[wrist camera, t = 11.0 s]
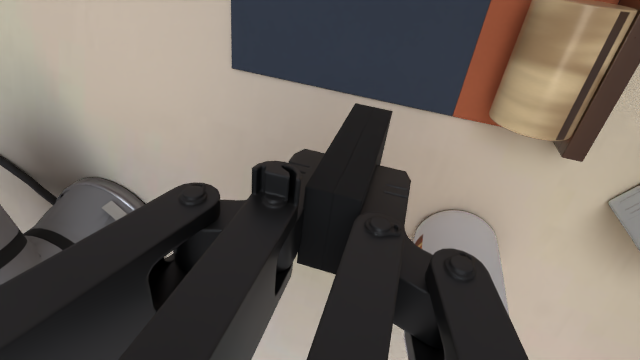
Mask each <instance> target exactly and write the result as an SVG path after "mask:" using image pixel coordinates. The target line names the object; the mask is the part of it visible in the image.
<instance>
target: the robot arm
mask: <svg viewBox="0 0 640 360" xmlns="http://www.w3.org/2000/svg"><path fill="white" fill-rule="evenodd" d="M391 115H392V111H389V110H384V109H380V108H375V107H370V106H365V105H360V104H356V103H355V105H354V107H353V108H352V110H351V112H350V113H349V115H348V117H347V118H346V120H345V122H344V123H343V125H342V127H341V128H340V130H339V131H338V133H337V135H336V136H335V138H334V140H333V141H332V143H331V145H330V146H329V148H328V150H327V151H326V153H325V154H324V153H320V152H316V151H312V150H308V149H304V150H302V151H300V152H298V153H295V154H294V155H293V157H292V158H291V159H290V161H289V163H286V162H280V161H266V162H263V163H259V164H257V165H256V166H254V167H253V168H252V194H251V196H250V197H249V198H248V199H247V200H240V201H235V200H220V194H219V192H218V190H217V189H216V188H214V187H213V186H212V185H208V184H205V183H188V184H183V185H181V186H178V187H176V188H174V189H172V190H170V191H168V192H167V193H165V194H163V195H161V196H159V197H158V198H156V199H154V200H152V201H150V202H149V203H147V204H144V203H143V202H142V201H141V200H139V199H138V198H137V197H136V196H135V195H133V194H132V193H131V192H129V191H128V190H127V189H125V188H123V187H122V186H120V185H118V184H116V183H114V182H111V181H108V180H105V179H101V178H94V177H90V178H84V179H81V180H79V181H77V182H75V183H74V184H72V185H70V186H69V187H67V188H66V189H64V190H63V192H62V193H61V194H60V195H59V197H58V198H56V197H55V196H54V195H52V194H51V193H50V192H49V191H47V190H46V189H45V188H44V187H42V186H41V185H40V184H39V183H38V182H37V181H35V180H34V179H33V178H31V177H30V176H29V175H27V174H26V173H24V172H23V171H22V170H20V169H19V168H17V167H16V166H15V165H13V164H12V163H10V162H9V161H7V160H6V159H4V158H3V157H1V156H0V165H1V166H2V167H4V168H5V169H7V170H8V171H10V172H11V173H12V174H14V175H15V176H17V177H18V178H19V179H21V180H22V181H24V182H25V183H26V184H28V185H29V186H30V187H31V188H32V189H34V190H35V191H36V192H37V193H38V194H40V195H41V196H42V197H43V198H45V199H46V200H47V201H48V202H50V203H51V204H52V205H53V206H52V207H51V208H50V209H49V210H48V211H47V212H46V213H45V214H44V215H43V217H42V218H41V219H40V220H39V221H38V223H37V224H36V225H35V226H34V227H33V228H31V229H30V230H28V231H27V232H25V233H24V234H22V232H21V231H20V230H19V228H18V227H17V226H16V224H15V223H14V222H13V220H12V219H11V218H10V216H9V215H8V214H7V213H6V211H5V210H4V209H3V207H2V206H1V205H0V360H251V359H252V357H253V355H254V353H255V350H256V348H257V346H258V344H259V342H260V340H261V338H262V336H263V334H264V332H265V329H266V327H267V325H268V323H269V321H270V319H271V317H272V315H273V313H274V311H275V308H276V306H277V304H278V302H279V300H280V298H281V296H282V294H283V292H284V289H285V287H286V285H287V283H288V281H289V279H290V277H291V273H292V266H293V261H294V259H295V257H296V255H297V253H298V258H297V263H299V264H302V265H306V266H309V267H313V268H316V269H319V270H323V271H326V272H330V273H333V274H336V276H335V279H334V282H333V285H332V287H331V290H330V293H329V296H328V299H327V302H326V305H325V308H324V311H323V314H322V317H321V319H320V322H319V325H318V328H317V331H316V334H315V337H314V340H313V343H312V346H311V348H310V351H309V354H308V357H307V360H388V354H389V347H390V340H391V333H392V326H393V324H395V325H397V326H398V327H400V328H401V329H403V330H405V341H406V347H407V353H408V359H409V360H529V359H528V357H527V355H526V353H525V351H524V348H523V346H522V344H521V342H520V340H519V337H518V335H517V333H516V331H515V329H514V326H513V324H512V322H511V320H510V318H509V316H508V313H507V311H506V309H505V307H504V305H503V302H502V300H501V298H500V296H499V294H498V291H497V289H496V287H495V285H494V283H493V281H492V278H491V276H490V274H489V272H488V270H487V269H486V267H485V266H484V265H483V263H482V262H480V261H479V260H478V259H477V258H476V257H474V256H473V255H471V254H468V253H466V252H464V251H461V250H457V249H453V248H448V249H441V250H438V251H436V252H435V253H434V254H433V255H432V254H431V253H429V252H427V251H425V250H423V249H421V248H420V247H418V246H416V245H415V244H414V243H413V242H412V241H411V240H410V239H409V238H408V236H407V235H406V232H405V228H404V224H405V217H406V211H407V204H408V197H409V190H410V183H411V180H410V178H409V177H408V175H407V173H406V172H405V171H401V170H397V169H393V168H388V167H384V166H380V163H381V158H382V154H383V150H384V145H385V141H386V137H387V132H388V128H389V124H390V119H391ZM171 251H174V253H173V254H172V255H171V256H169V257H167V258H165V259H164V256H166V255H167V254H168V253H170V252H171Z"/></svg>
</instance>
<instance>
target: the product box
mask: <svg viewBox="0 0 640 360" xmlns="http://www.w3.org/2000/svg"><path fill="white" fill-rule="evenodd" d="M608 203H609V205H610V207H611V209H612V210H613V212H614V213H615V215H616V216H617V218H618V219H619V221H620V222H621V224H622V225H623V227H624V228H625V230H626V231H627V233H628V234H629V236H630V237H631V239H632V240H633V242H634V243H635V245H636V247H637V248H638V250H639V251H640V185H639V186H637V187H635V188H633V189H631V190H629V191H627V192H625V193H623V194H621V195H619V196H618V197H616V198H614V199H612V200H610V201H609V202H608Z"/></svg>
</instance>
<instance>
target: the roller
mask: <svg viewBox="0 0 640 360" xmlns="http://www.w3.org/2000/svg"><path fill="white" fill-rule="evenodd" d="M636 13H637V10H636V9H634V8H630V7H626V6H621V5H616V4H611V3H606V2H600V1H594V0H532V1H531V4H530V7H529V9H528V12H527V15H526V17H525V20H524V22H523V25H522V28H521V30H520V33H519V35H518V38H517V41H516V43H515V46H514V48H513V51H512V54H511V56H510V59H509V61H508V64H507V67H506V69H505V72H504V75H503V77H502V80H501V82H500V85H499V88H498V90H497V93H496V95H495V98H494V101H493V103H492V106H491V108H490V111H489V116H490V118H491V119H492V120H493V121H494V122H496V123H497V124H499V125H500V126H502V127H504V128H506V129H508V130H510V131H513V132H515V133H518V134H521V135H524V136H527V137H531V138H536V139H541V140H548V141H563V140H567V139H569V138H570V137H571V136H572V134H573V132H574V130H575V128H576V126H577V124H578V123H579V121H580V119H581V117H582V115H583V113H584V111H585V109H586V108H587V106H588V104H589V102H590V100H591V98H592V96H593V94H594V92H595V91H596V89H597V87H598V85H599V83H600V81H601V79H602V77H603V75H604V74H605V72H606V70H607V68H608V66H609V64H610V62H611V60H612V59H613V57H614V55H615V53H616V51H617V49H618V47H619V45H620V43H621V42H622V40H623V38H624V36H625V34H626V32H627V30H628V28H629V26H630V25H631V23H632V21H633V19H634V17H635V15H636Z"/></svg>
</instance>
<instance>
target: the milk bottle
mask: <svg viewBox="0 0 640 360" xmlns="http://www.w3.org/2000/svg"><path fill="white" fill-rule="evenodd" d="M414 244H415V245H416V246H418V247H420V248H421V249H423V250H425V251H427V252H429V253H431V254H432V255H433V254H434V253H435V252H436V251H438V250H441V249H448V248H453V249H457V250H461V251H464V252H466V253H468V254H471V255H473V256H474V257H476V258H477V259H478V260H479V261H480V262H482V263H483V265H484V266H485V267H486V269H487V270H488V272H489V274H490V276H491V278H492V281H493V283H494V285H495V287H496V289H497V291H498V294H499V296H500V298H501V300H502V302H503V305H504V307H505V309H506V311H507V313H508V316H509V312H508V305H507V298H506V291H505V285H504V279H503V272H502V266H501V260H500V254H499V247H498V243H497V238H496V235H495V233H494V231H493V229H492V228H491V227H490V226H489V225H488V224H487V223H486V222H485V221H484V220H483V219H481V218H479V217H478V216H476V215H474V214H471V213H469V212H464V211H458V210H449V211H442V212H438V213H436V214H433V215H431V216H430V217H428V218H427V219H425V220H424V221H423V222H422V223H421V224H420V225H419V227H418V228H417V230H416V233H415V237H414ZM404 340H405V330H404ZM405 347H406V341H405ZM406 351H407V347H406ZM407 355H408V353H407Z"/></svg>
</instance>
